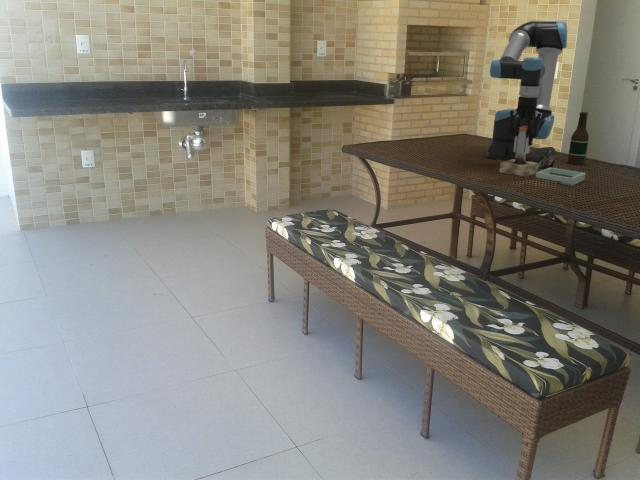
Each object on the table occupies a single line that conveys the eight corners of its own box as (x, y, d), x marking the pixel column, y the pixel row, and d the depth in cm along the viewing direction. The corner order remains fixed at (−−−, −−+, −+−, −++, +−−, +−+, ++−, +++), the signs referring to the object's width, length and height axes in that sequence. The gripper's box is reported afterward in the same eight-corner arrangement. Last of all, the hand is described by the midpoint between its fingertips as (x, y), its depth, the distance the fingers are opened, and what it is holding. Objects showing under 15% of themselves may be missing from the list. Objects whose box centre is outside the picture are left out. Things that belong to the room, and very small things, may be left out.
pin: (512, 165, 262) (517, 126, 256) (516, 163, 265) (521, 125, 259) (522, 166, 259) (527, 127, 254) (526, 165, 262) (531, 126, 257)
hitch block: (499, 174, 262) (500, 162, 261) (511, 170, 271) (512, 159, 269) (525, 178, 255) (527, 167, 253) (537, 174, 264) (538, 163, 262)
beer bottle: (586, 165, 285) (594, 113, 277) (568, 164, 286) (576, 112, 278) (582, 162, 292) (591, 111, 284) (565, 161, 293) (573, 110, 286)
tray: (535, 179, 254) (536, 172, 253) (549, 174, 265) (550, 167, 264) (571, 185, 245) (572, 178, 244) (584, 180, 255) (585, 173, 254)
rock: (560, 162, 276) (555, 143, 272) (560, 172, 269) (554, 152, 265) (533, 169, 282) (527, 150, 278) (532, 179, 275) (526, 159, 271)
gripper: (504, 95, 255) (498, 150, 263) (545, 98, 244) (537, 156, 252) (512, 94, 261) (505, 148, 268) (552, 97, 250) (544, 153, 257)
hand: (521, 152), depth 260 cm, fingers closed on pin, 4 cm apart
